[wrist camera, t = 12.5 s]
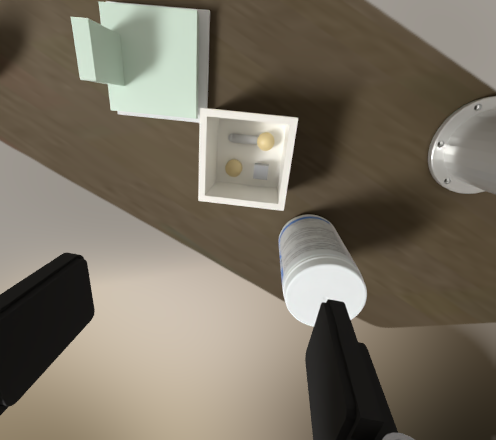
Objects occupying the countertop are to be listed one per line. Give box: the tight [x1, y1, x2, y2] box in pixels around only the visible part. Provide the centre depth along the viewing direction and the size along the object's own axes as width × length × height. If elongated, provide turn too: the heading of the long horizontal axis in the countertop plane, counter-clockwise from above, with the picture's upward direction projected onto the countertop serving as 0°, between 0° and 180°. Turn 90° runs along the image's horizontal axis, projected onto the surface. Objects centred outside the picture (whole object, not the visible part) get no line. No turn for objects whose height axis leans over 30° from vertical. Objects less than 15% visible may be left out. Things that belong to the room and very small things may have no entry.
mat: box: [106, 1, 210, 123], centre depth 34 cm, size 13×13×1 cm
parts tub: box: [198, 108, 298, 211], centre depth 34 cm, size 11×11×8 cm
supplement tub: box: [279, 214, 367, 327], centre depth 36 cm, size 10×10×15 cm
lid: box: [71, 2, 199, 119], centre depth 30 cm, size 12×12×8 cm
